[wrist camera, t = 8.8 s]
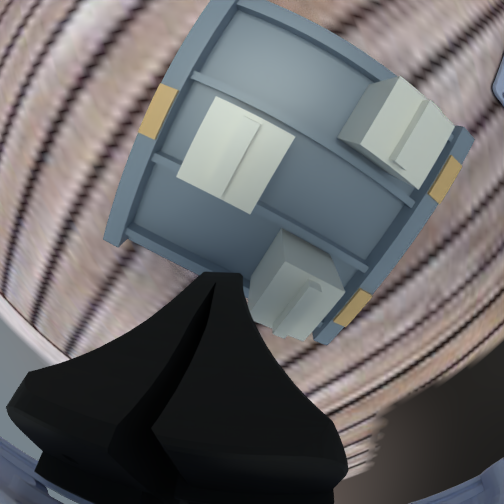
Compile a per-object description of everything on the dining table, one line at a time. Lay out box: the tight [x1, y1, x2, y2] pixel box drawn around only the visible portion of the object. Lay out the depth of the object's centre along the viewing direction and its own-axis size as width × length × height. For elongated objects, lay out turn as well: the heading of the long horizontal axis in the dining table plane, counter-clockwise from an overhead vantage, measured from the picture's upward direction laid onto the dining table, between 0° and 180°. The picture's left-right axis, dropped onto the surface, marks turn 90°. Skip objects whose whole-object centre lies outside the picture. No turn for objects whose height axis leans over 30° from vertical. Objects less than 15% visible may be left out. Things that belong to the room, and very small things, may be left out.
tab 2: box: [248, 228, 345, 341], centre depth 13 cm, size 3×3×4 cm
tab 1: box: [176, 96, 295, 214], centre depth 11 cm, size 3×3×4 cm
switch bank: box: [103, 0, 475, 345], centre depth 13 cm, size 14×14×2 cm
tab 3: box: [337, 76, 455, 190], centre depth 10 cm, size 3×3×4 cm
